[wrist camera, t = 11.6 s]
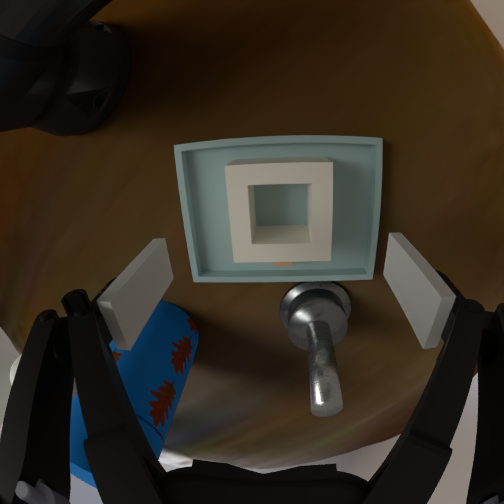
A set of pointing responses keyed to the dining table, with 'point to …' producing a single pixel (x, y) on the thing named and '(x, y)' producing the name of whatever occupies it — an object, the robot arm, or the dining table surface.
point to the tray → (281, 206)
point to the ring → (280, 236)
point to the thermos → (146, 380)
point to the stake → (318, 336)
